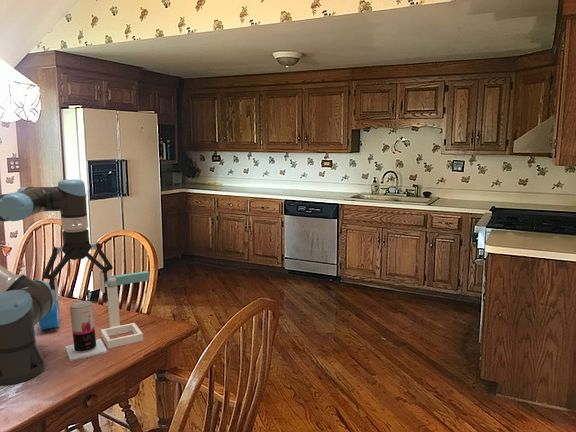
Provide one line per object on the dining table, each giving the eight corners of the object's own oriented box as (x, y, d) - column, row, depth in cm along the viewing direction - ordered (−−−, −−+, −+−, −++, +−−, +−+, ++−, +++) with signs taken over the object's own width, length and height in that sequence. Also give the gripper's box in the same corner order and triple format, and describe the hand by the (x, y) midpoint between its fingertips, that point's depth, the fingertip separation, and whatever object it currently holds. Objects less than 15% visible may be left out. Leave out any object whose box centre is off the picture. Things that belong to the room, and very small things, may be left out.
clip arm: (150, 280, 177) (149, 272, 177) (107, 287, 170) (106, 279, 170) (147, 278, 180) (147, 270, 180) (105, 284, 173) (105, 276, 173)
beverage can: (93, 351, 154) (89, 307, 152) (72, 353, 153) (67, 308, 151) (98, 343, 161) (94, 300, 158) (77, 344, 160) (73, 301, 157)
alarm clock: (58, 332, 171) (54, 292, 169) (39, 335, 169) (35, 294, 166) (60, 320, 183) (56, 281, 181) (41, 322, 181) (37, 283, 178)
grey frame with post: (108, 348, 158) (104, 302, 156) (97, 329, 174) (94, 287, 171) (143, 340, 164) (140, 296, 161) (130, 323, 179) (127, 282, 177)
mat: (70, 361, 150) (69, 359, 150) (65, 347, 159) (65, 346, 159) (107, 352, 155) (107, 350, 155) (100, 340, 165) (100, 338, 165)
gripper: (30, 236, 141) (37, 306, 145) (119, 227, 154) (123, 291, 157) (29, 231, 147) (35, 298, 151) (114, 223, 160) (118, 285, 164)
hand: (80, 295), depth 154 cm, fingers open, 13 cm apart
